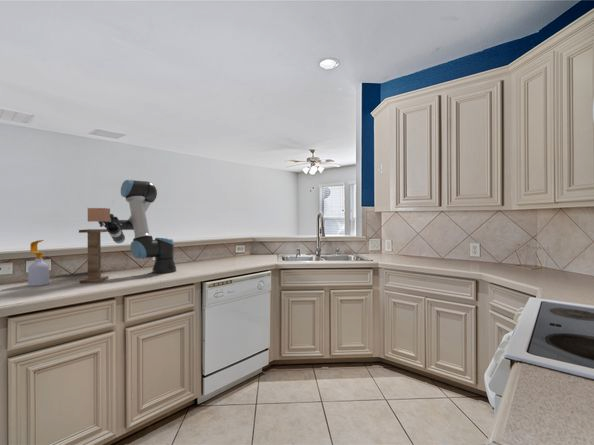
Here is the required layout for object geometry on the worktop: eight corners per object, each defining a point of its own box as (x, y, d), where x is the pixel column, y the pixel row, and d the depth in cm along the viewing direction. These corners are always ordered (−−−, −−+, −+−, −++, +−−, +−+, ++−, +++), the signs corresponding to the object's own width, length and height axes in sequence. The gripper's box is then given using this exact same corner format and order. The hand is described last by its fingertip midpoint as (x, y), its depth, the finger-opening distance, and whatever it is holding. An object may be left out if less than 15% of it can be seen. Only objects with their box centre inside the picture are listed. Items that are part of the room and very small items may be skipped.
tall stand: (88, 279, 191) (87, 229, 190) (108, 278, 193) (108, 229, 193) (79, 283, 179) (78, 230, 179) (101, 282, 181) (100, 229, 181)
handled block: (102, 221, 213) (102, 209, 213) (117, 221, 215) (117, 209, 215) (87, 221, 190) (87, 208, 190) (104, 221, 192) (104, 208, 192)
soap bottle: (40, 286, 172) (40, 240, 171) (23, 286, 172) (23, 240, 172) (53, 282, 181) (53, 239, 180) (37, 282, 181) (37, 239, 181)
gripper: (126, 234, 223) (117, 217, 203) (99, 234, 219) (87, 217, 199) (128, 225, 226) (119, 207, 207) (101, 225, 222) (89, 207, 203)
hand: (103, 212), depth 203 cm, fingers closed on handled block, 4 cm apart
